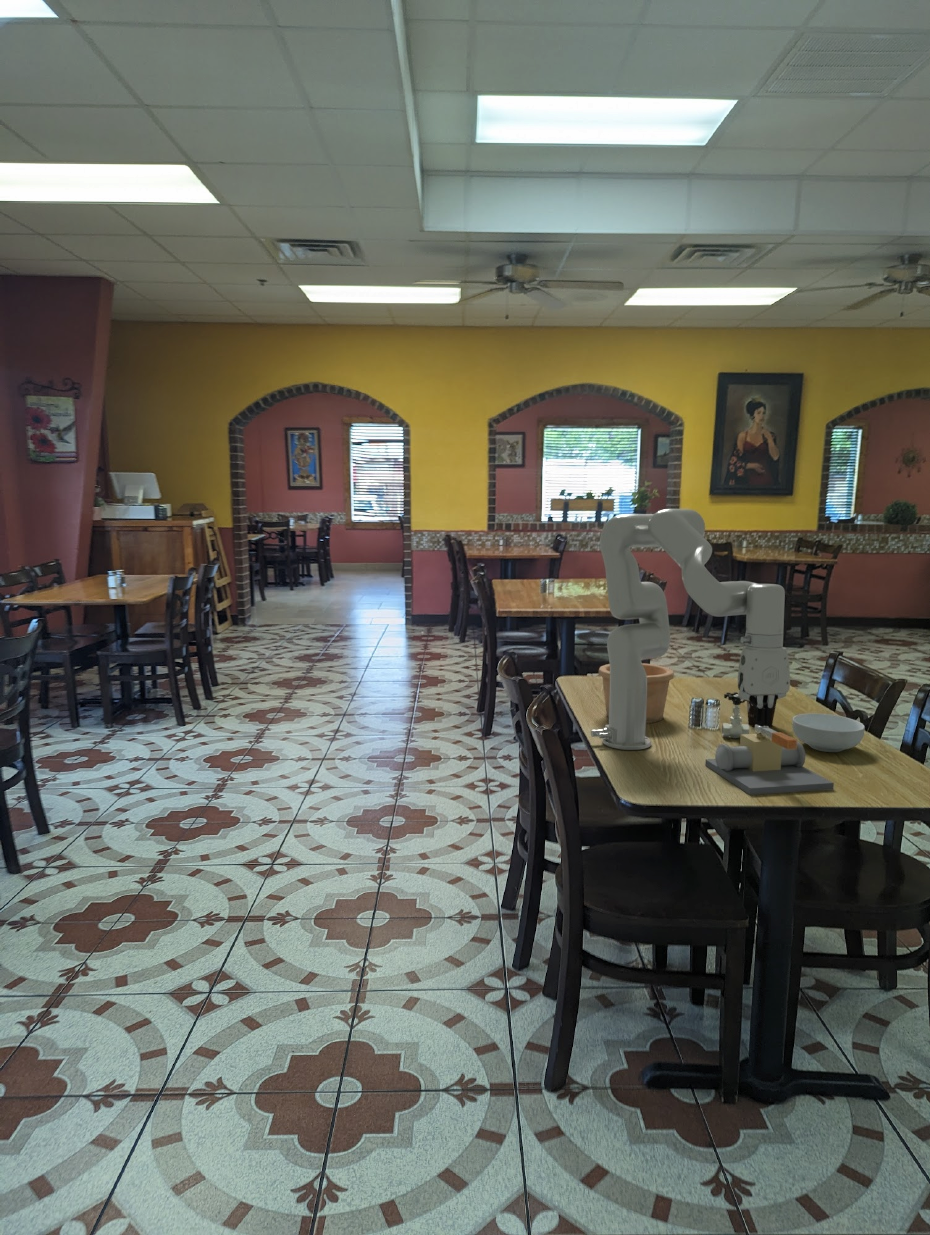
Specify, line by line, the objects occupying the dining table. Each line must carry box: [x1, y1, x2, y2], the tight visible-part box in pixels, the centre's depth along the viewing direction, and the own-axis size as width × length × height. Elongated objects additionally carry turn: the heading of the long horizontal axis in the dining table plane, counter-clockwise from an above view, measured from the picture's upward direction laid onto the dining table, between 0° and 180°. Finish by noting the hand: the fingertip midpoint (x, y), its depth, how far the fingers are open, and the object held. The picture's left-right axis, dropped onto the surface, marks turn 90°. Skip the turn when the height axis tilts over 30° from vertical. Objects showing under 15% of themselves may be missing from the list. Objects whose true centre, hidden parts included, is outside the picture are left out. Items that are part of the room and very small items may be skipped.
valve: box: [721, 691, 750, 739], centre depth 207 cm, size 7×7×12 cm
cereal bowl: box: [791, 712, 866, 753], centre depth 199 cm, size 17×17×7 cm
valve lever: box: [754, 725, 798, 749], centre depth 173 cm, size 14×3×2 cm, turn 10°
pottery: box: [598, 662, 675, 724], centre depth 229 cm, size 22×22×14 cm
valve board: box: [704, 733, 835, 796], centre depth 176 cm, size 20×20×9 cm
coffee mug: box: [746, 693, 778, 729], centre depth 221 cm, size 12×9×10 cm
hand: (761, 724), depth 167 cm, fingers closed
